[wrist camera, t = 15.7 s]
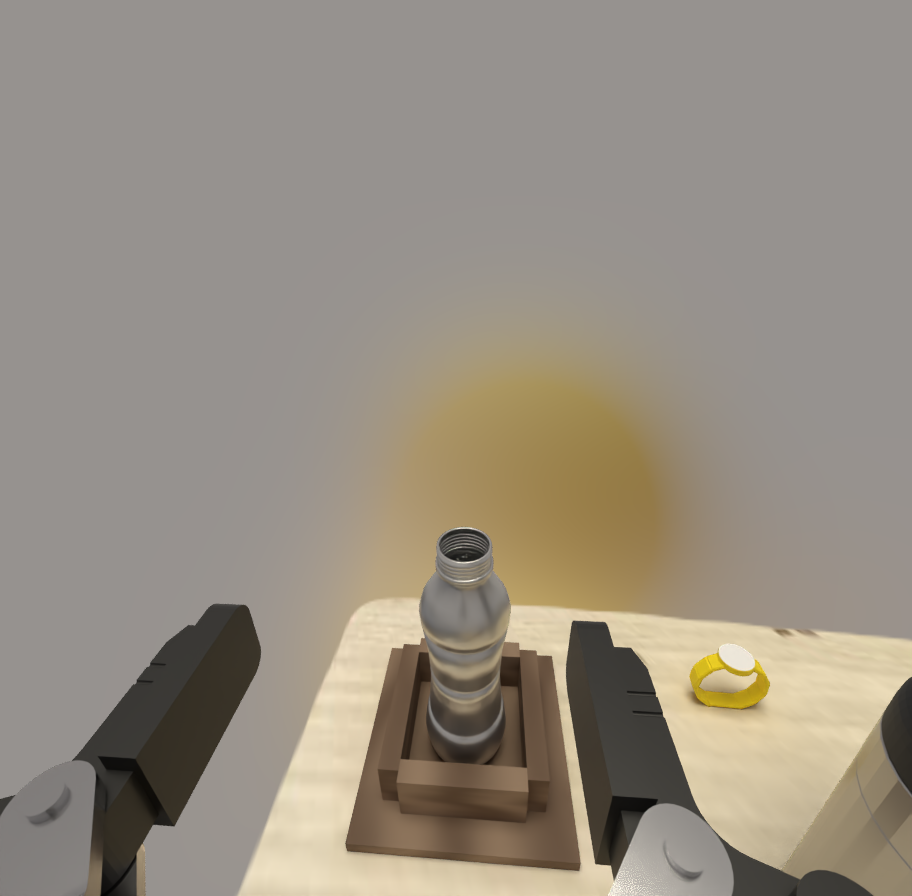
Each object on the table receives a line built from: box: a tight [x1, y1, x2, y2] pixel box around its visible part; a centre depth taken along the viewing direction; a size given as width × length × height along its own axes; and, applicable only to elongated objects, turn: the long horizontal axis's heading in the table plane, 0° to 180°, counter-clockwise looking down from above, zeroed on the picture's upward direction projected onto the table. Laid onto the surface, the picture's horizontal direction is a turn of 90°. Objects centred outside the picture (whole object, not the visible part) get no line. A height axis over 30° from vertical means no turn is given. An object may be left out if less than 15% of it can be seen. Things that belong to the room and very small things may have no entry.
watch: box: [689, 644, 770, 709], centre depth 39 cm, size 6×3×6 cm, turn 83°
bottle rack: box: [345, 638, 581, 870], centre depth 37 cm, size 16×16×5 cm
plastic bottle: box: [419, 527, 511, 765], centre depth 33 cm, size 6×7×20 cm
